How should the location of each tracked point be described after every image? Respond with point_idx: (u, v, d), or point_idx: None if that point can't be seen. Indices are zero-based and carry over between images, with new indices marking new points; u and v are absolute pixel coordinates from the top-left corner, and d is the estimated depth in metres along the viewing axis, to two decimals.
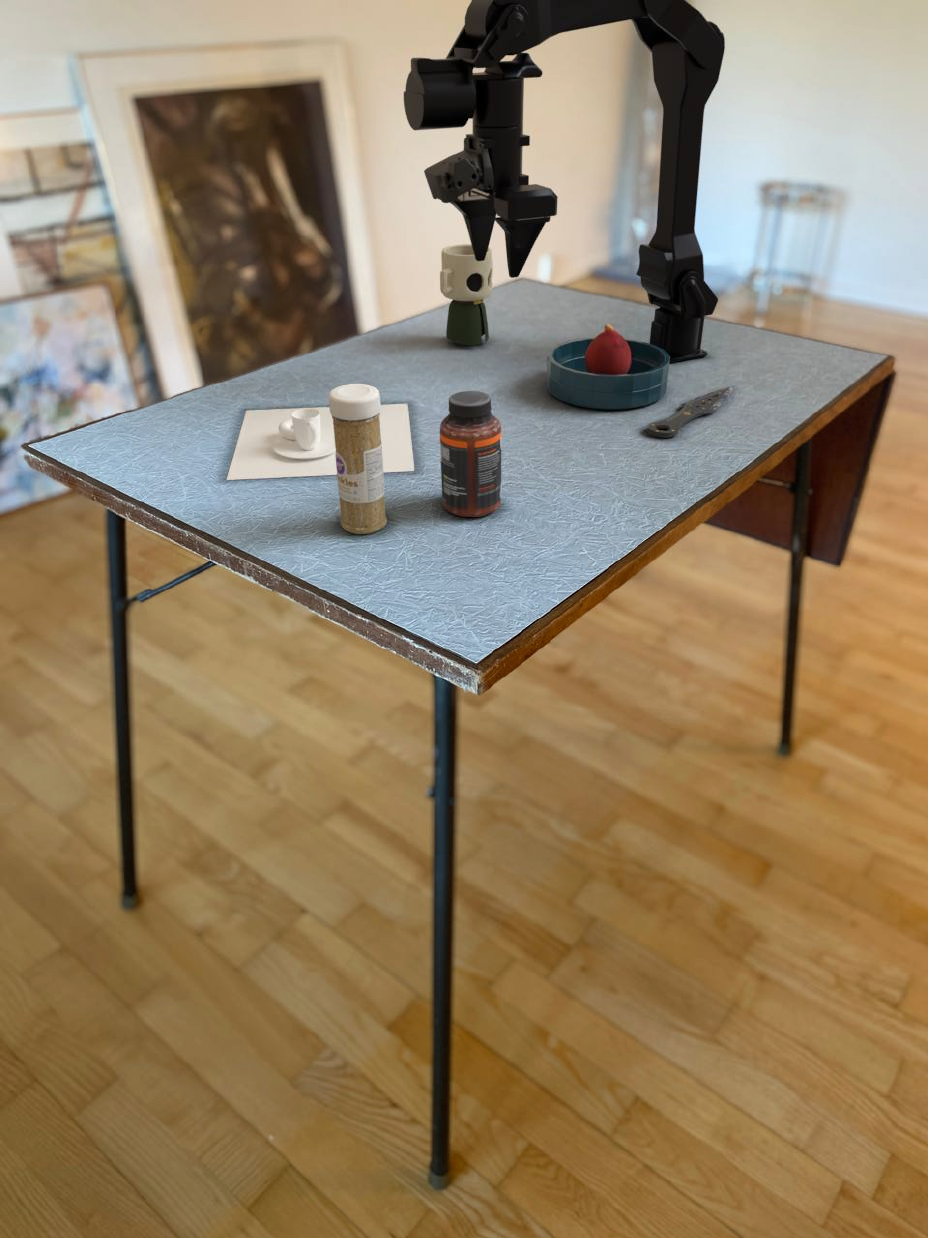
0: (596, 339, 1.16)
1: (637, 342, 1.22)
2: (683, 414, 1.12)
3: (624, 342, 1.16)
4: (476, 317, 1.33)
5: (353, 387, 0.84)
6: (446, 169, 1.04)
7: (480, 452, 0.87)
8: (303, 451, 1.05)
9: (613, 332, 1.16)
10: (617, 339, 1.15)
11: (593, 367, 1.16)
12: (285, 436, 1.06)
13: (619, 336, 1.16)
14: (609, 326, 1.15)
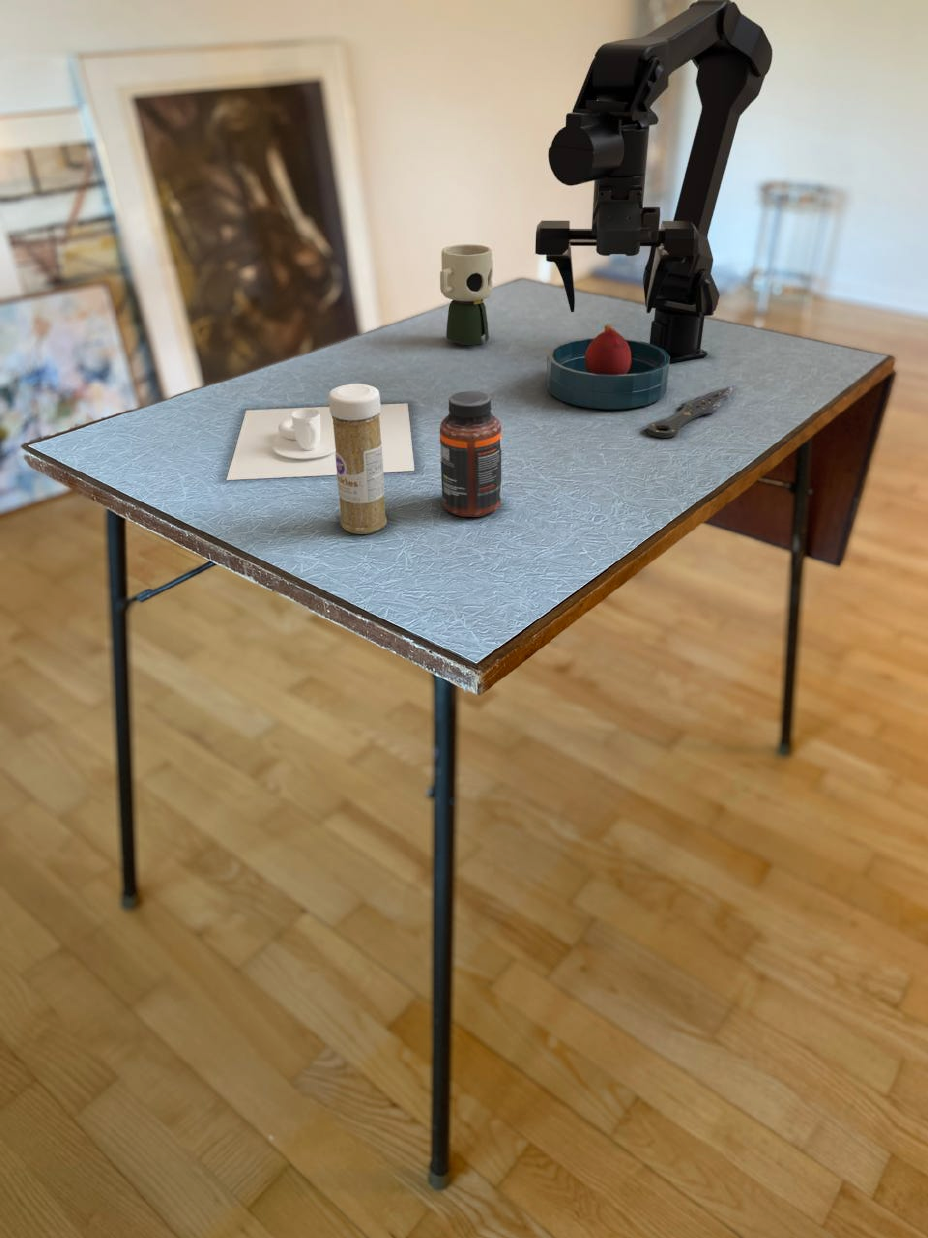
0: (596, 339, 1.16)
1: (637, 342, 1.22)
2: (683, 414, 1.12)
3: (624, 342, 1.16)
4: (476, 317, 1.33)
5: (353, 387, 0.84)
6: (633, 222, 1.02)
7: (480, 452, 0.87)
8: (303, 451, 1.05)
9: (613, 332, 1.16)
10: (617, 339, 1.15)
11: (593, 367, 1.16)
12: (285, 436, 1.06)
13: (619, 336, 1.16)
14: (609, 326, 1.15)
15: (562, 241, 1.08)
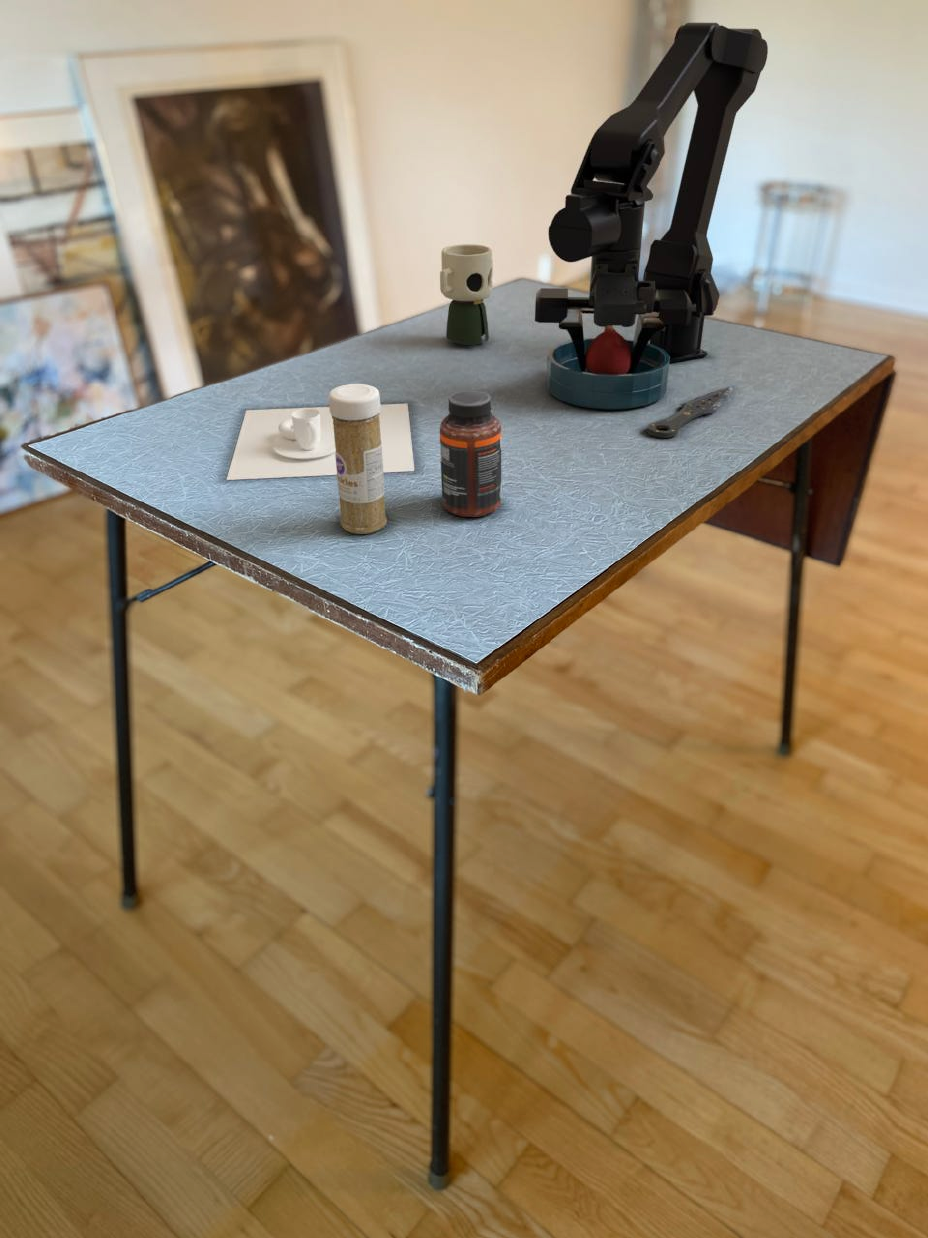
0: (596, 339, 1.16)
1: None
2: (683, 414, 1.12)
3: (624, 342, 1.16)
4: (476, 317, 1.33)
5: (353, 387, 0.84)
6: (629, 295, 1.07)
7: (480, 452, 0.87)
8: (303, 451, 1.05)
9: (613, 332, 1.16)
10: (617, 339, 1.15)
11: (593, 367, 1.16)
12: (285, 436, 1.06)
13: (619, 336, 1.16)
14: (609, 326, 1.15)
15: (561, 310, 1.12)
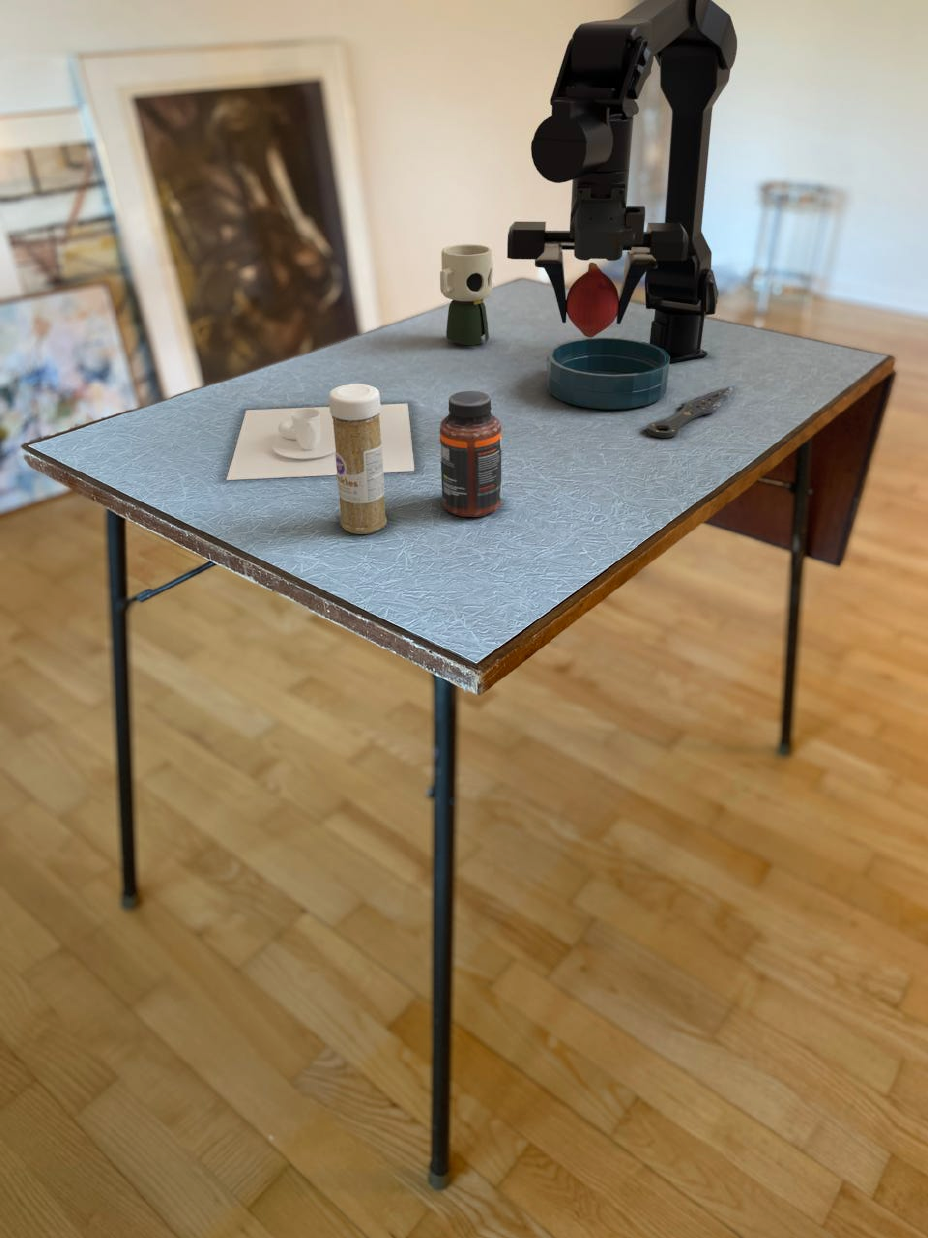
0: (578, 280, 1.01)
1: (637, 342, 1.22)
2: (683, 414, 1.12)
3: (611, 283, 1.01)
4: (476, 317, 1.33)
5: (353, 387, 0.84)
6: (615, 223, 0.92)
7: (480, 452, 0.87)
8: (303, 451, 1.05)
9: (598, 271, 1.00)
10: (602, 279, 1.00)
11: (575, 312, 1.01)
12: (285, 436, 1.06)
13: (605, 276, 1.01)
14: (593, 264, 1.00)
15: (537, 244, 0.97)
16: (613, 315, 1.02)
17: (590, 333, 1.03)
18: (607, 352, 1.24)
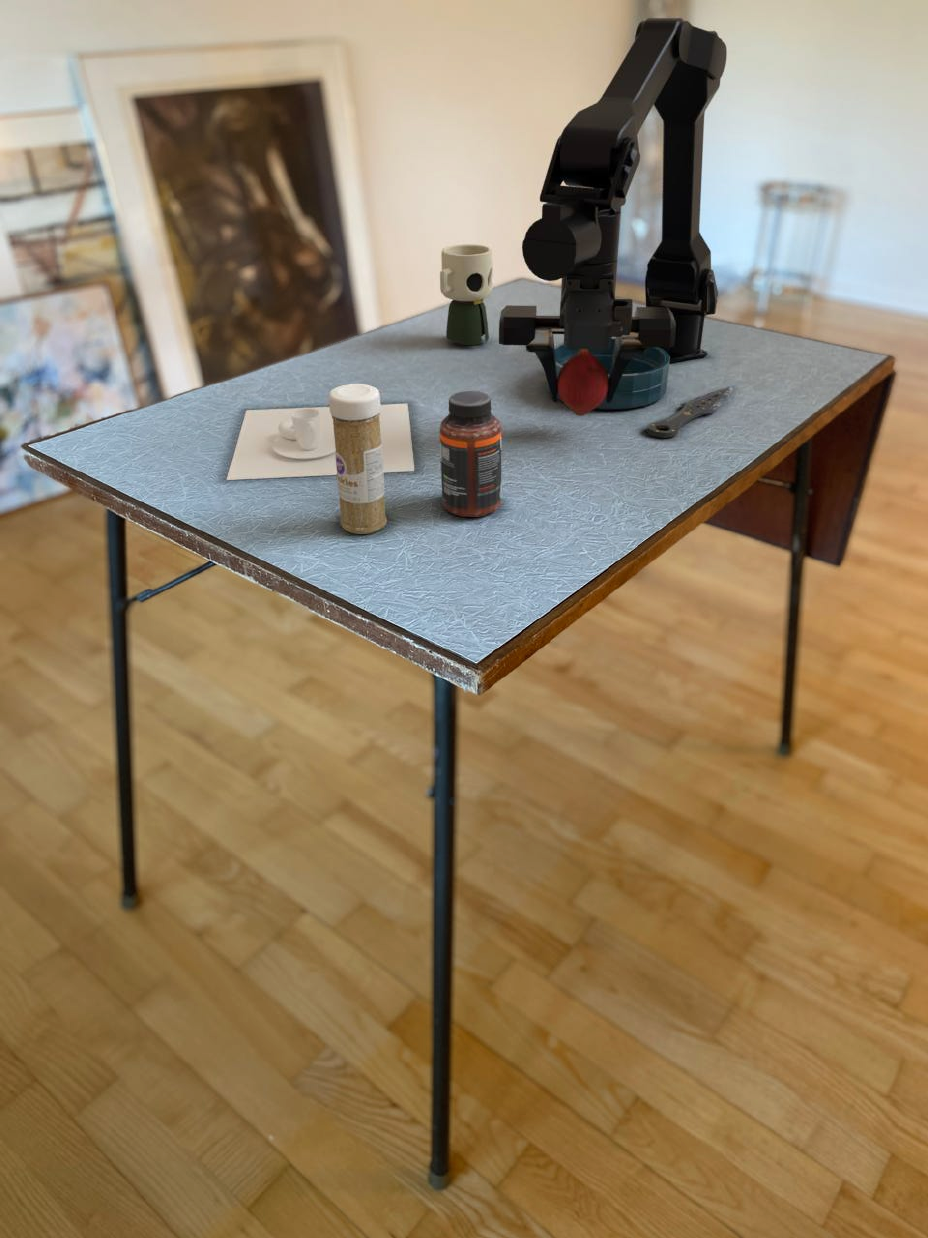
0: (569, 362, 1.03)
1: None
2: (683, 414, 1.12)
3: (600, 366, 1.03)
4: (476, 317, 1.33)
5: (353, 387, 0.84)
6: (603, 316, 0.94)
7: (480, 452, 0.87)
8: (303, 451, 1.05)
9: (588, 354, 1.03)
10: (592, 362, 1.02)
11: (566, 393, 1.04)
12: (285, 436, 1.06)
13: (594, 359, 1.03)
14: None
15: (527, 331, 0.99)
16: (603, 396, 1.04)
17: (580, 412, 1.06)
18: (607, 352, 1.24)
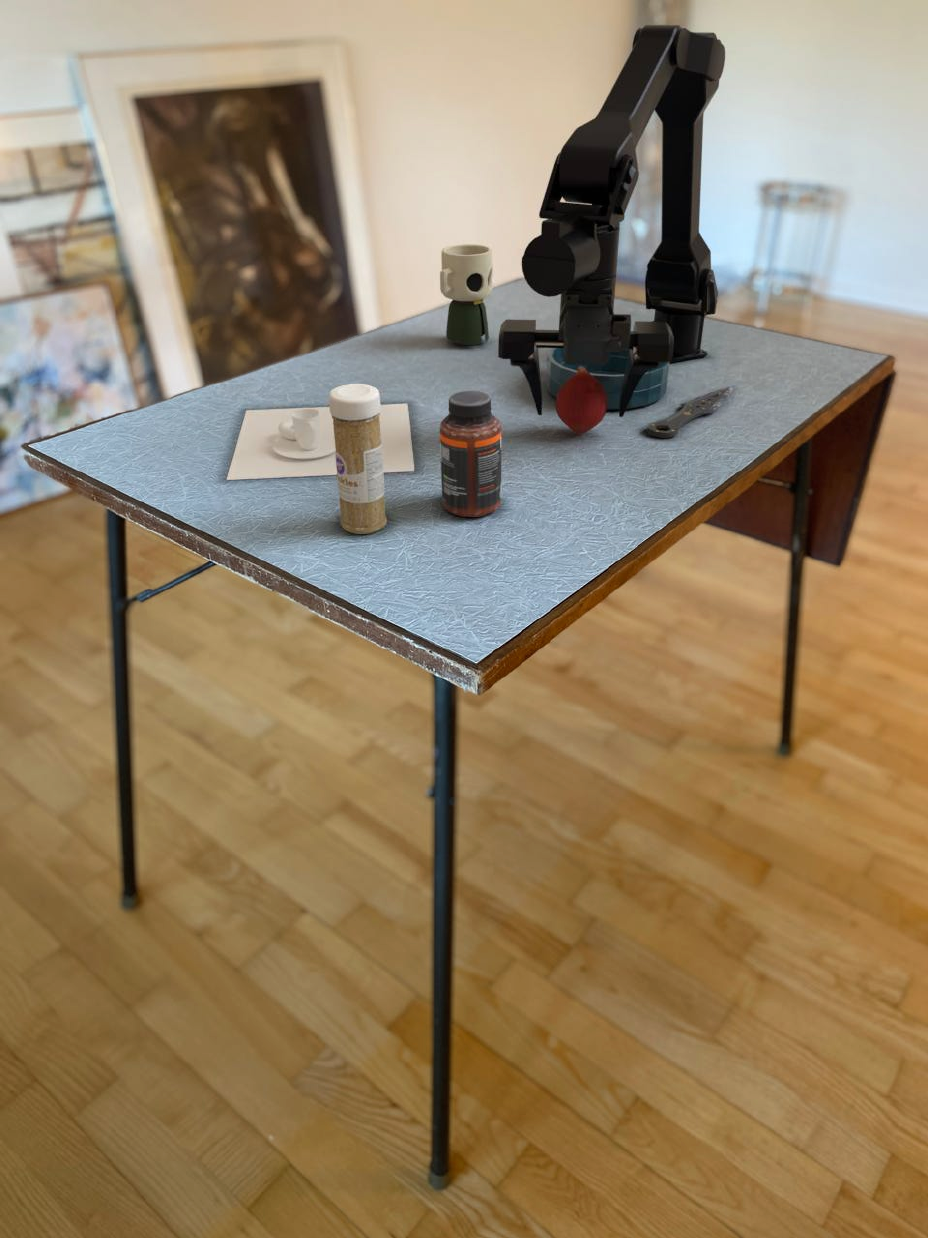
0: (568, 382, 1.05)
1: None
2: (683, 414, 1.12)
3: (599, 386, 1.04)
4: (476, 317, 1.33)
5: (353, 387, 0.84)
6: (602, 331, 0.94)
7: (480, 452, 0.87)
8: (303, 451, 1.05)
9: (586, 375, 1.04)
10: (591, 382, 1.04)
11: (565, 413, 1.05)
12: (285, 436, 1.06)
13: (593, 379, 1.04)
14: (582, 368, 1.04)
15: (527, 345, 1.00)
16: (601, 416, 1.05)
17: (579, 432, 1.07)
18: None
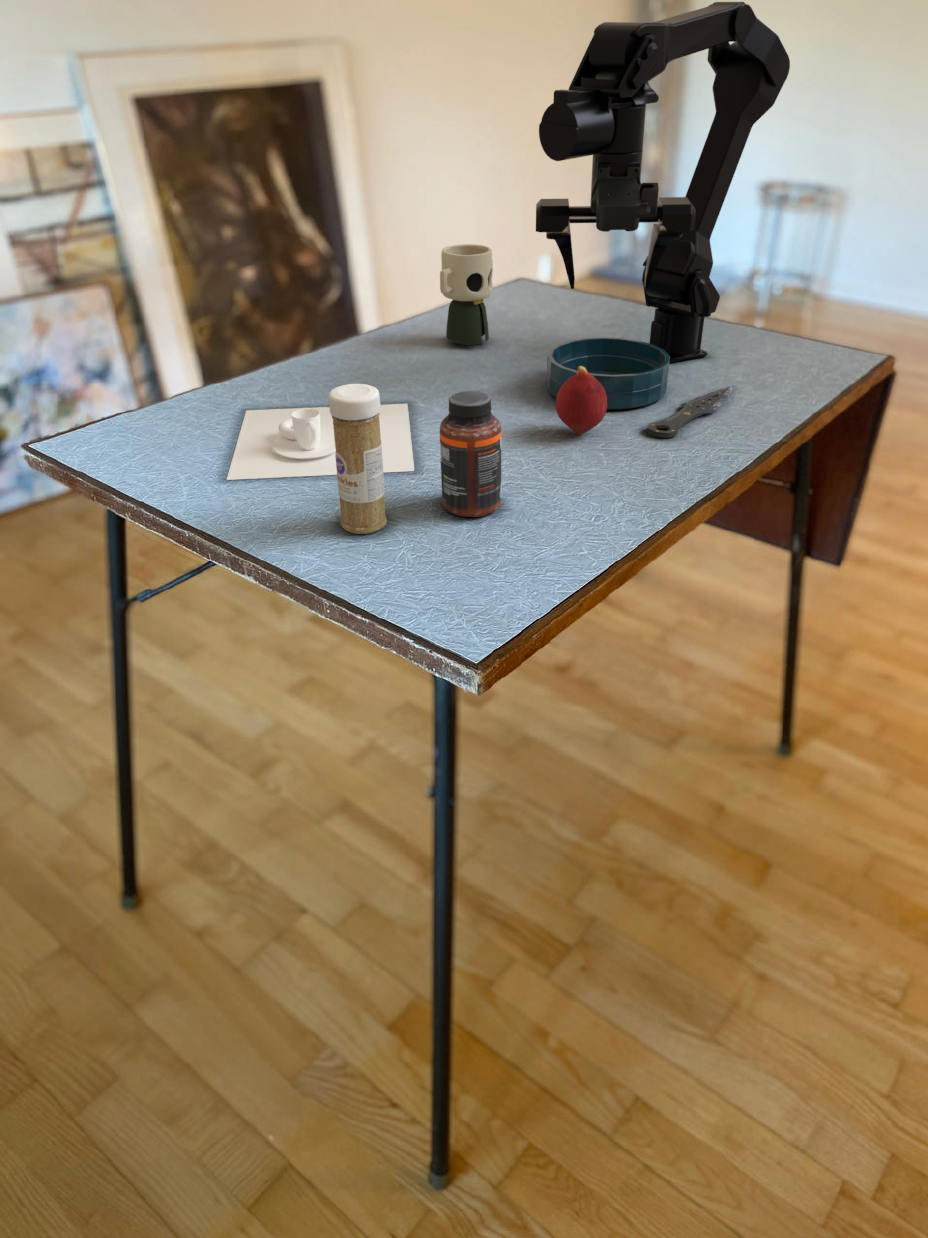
0: (568, 382, 1.05)
1: (637, 342, 1.22)
2: (683, 414, 1.12)
3: (599, 386, 1.04)
4: (476, 317, 1.33)
5: (353, 387, 0.84)
6: (632, 198, 1.05)
7: (480, 452, 0.87)
8: (303, 451, 1.05)
9: (586, 375, 1.04)
10: (591, 382, 1.04)
11: (565, 413, 1.05)
12: (285, 436, 1.06)
13: (593, 379, 1.04)
14: (582, 368, 1.04)
15: (562, 218, 1.10)
16: (601, 416, 1.05)
17: (579, 432, 1.07)
18: (607, 352, 1.24)
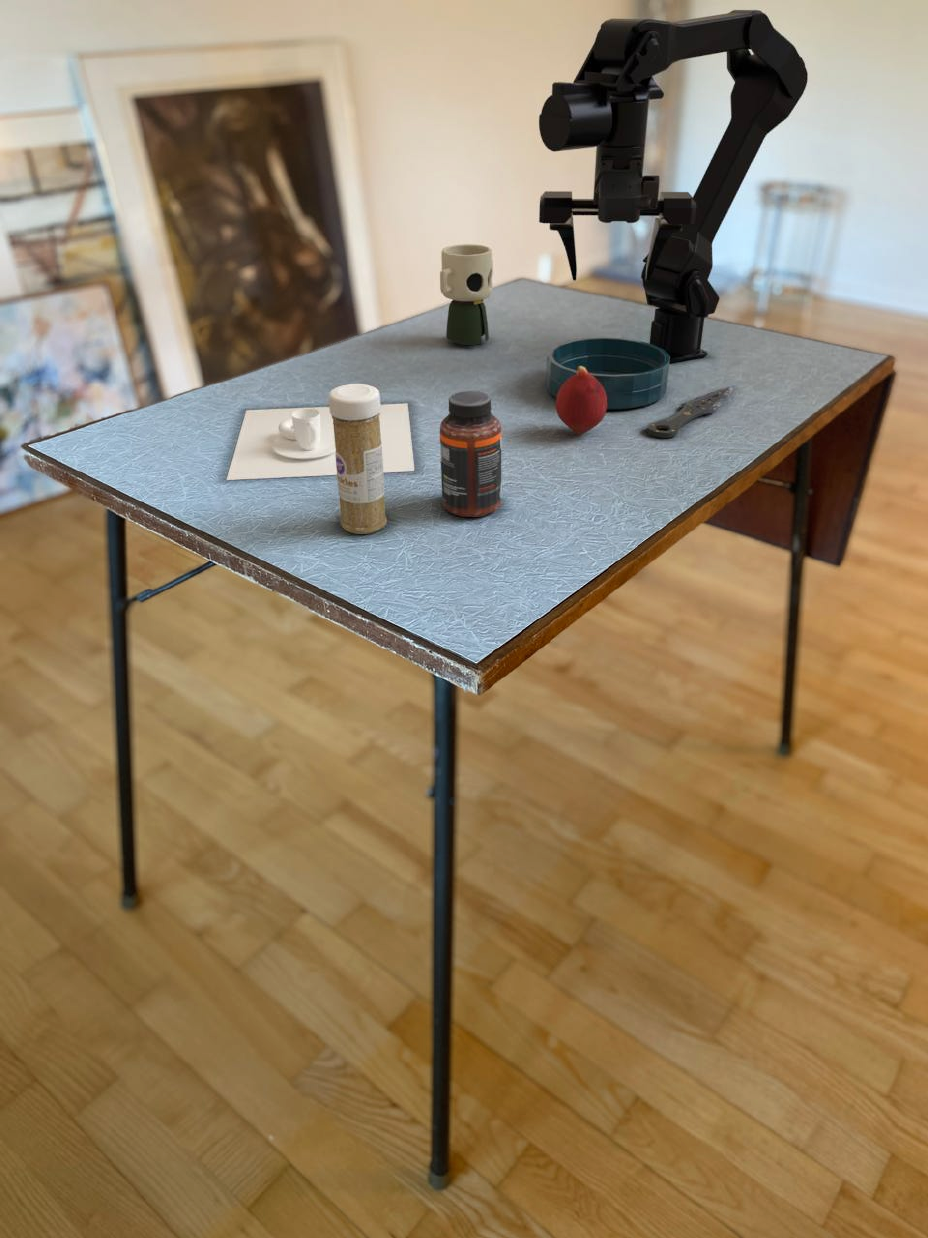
0: (568, 382, 1.05)
1: (637, 342, 1.22)
2: (683, 414, 1.12)
3: (599, 386, 1.04)
4: (476, 317, 1.33)
5: (353, 387, 0.84)
6: (633, 190, 1.07)
7: (480, 452, 0.87)
8: (303, 451, 1.05)
9: (586, 375, 1.04)
10: (591, 382, 1.04)
11: (565, 413, 1.05)
12: (285, 436, 1.06)
13: (593, 379, 1.04)
14: (582, 368, 1.04)
15: (565, 210, 1.12)
16: (601, 416, 1.05)
17: (579, 432, 1.07)
18: (607, 352, 1.24)
